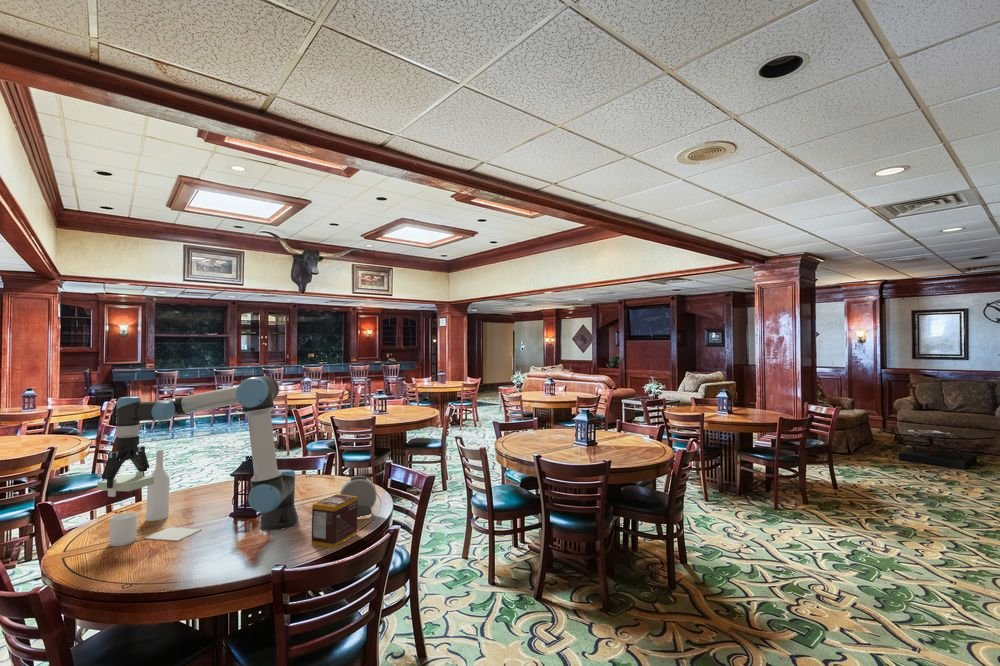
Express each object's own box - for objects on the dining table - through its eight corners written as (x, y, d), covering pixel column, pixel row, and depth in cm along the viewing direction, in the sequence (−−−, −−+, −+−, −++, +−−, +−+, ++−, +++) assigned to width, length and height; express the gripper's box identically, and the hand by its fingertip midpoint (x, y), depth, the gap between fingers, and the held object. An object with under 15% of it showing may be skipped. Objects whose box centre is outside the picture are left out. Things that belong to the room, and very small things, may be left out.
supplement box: (357, 534, 196) (358, 495, 197) (333, 548, 182) (333, 507, 182) (336, 531, 199) (337, 493, 200) (310, 544, 185) (311, 504, 186)
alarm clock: (375, 511, 225) (375, 472, 226) (376, 518, 215) (377, 477, 216) (339, 514, 220) (339, 474, 221) (338, 522, 210) (339, 480, 211)
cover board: (153, 483, 193) (154, 476, 193) (128, 491, 182) (129, 483, 182) (123, 482, 195) (124, 475, 195) (97, 490, 184) (97, 482, 184)
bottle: (147, 522, 208) (149, 453, 209) (145, 517, 214) (148, 450, 215) (169, 518, 213) (172, 450, 215) (167, 513, 219) (169, 448, 221)
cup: (107, 548, 180) (108, 521, 181) (111, 538, 190) (112, 512, 191) (134, 543, 185) (136, 517, 185) (137, 533, 195) (138, 508, 195)
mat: (201, 530, 199) (201, 529, 199) (177, 541, 187) (177, 540, 187) (169, 528, 201) (169, 527, 202) (144, 538, 190) (144, 537, 190)
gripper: (145, 431, 202) (143, 483, 201) (90, 441, 178) (88, 500, 178) (161, 431, 201) (159, 484, 200) (107, 441, 177) (105, 501, 176)
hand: (125, 492), depth 189 cm, fingers closed on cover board, 11 cm apart
